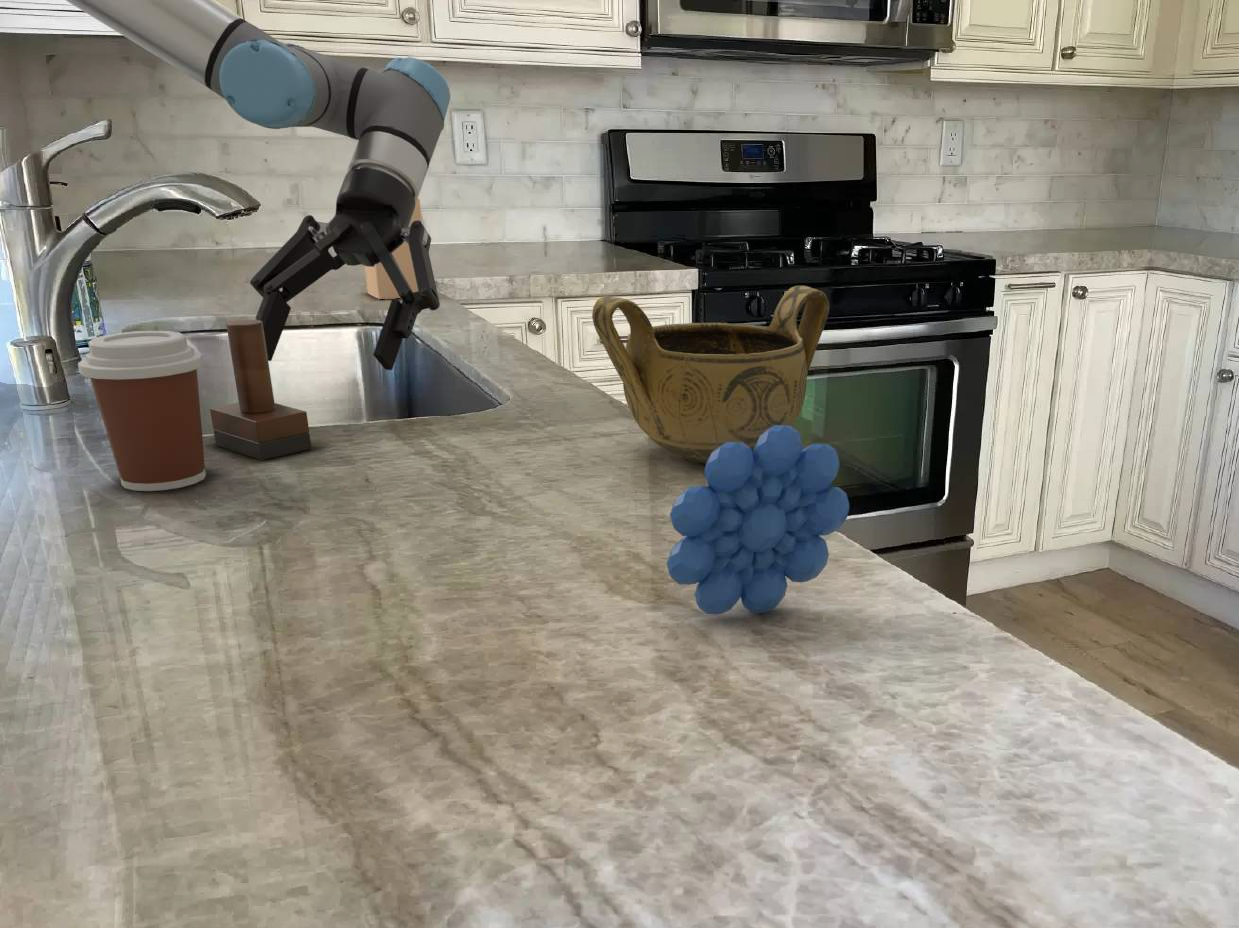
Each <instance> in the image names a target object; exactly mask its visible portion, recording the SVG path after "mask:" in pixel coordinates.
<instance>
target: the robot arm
mask: <svg viewBox="0 0 1239 928" xmlns="http://www.w3.org/2000/svg"><path fill="white" fill-rule="evenodd" d="M65 1H66V2H68V3H69V4H71V5H72V6H74V7H75V8H78V9H79V10H81V11H82V12H84V13H86V14H87V15H89V16H91V18H93V19H95V20H97V21H99V22H100V23H102V24H104V26H106V27H109V28H110V29H112V30H113V31H115V32H117V33H118V34H120V35H121V36H123V37H125V38H126V39H128V40H129V41H131V42H133V43H135V44H136V45H138V46H139V47H141V48H142V49H144V50H146V51H147V52H149V53H151V54H152V55H154V56H156V57H157V58H159V59H160V60H162V61H163V62H166V63H167V64H169V65H170V66H172V67H174V68H175V69H177V70H178V71H180V72H182V73H184V74H185V75H187V76H188V77H190V78H191V79H193V80H194V81H197V82H198V83H200V84H202V85H203V86H204V87H206V88H207V89H209V90H210V91H212V92H214V93H215V94H216V95H218V96H219V97H220V98H222V99H224V100H226V102H227V104H228V105H229V106H230V108H231V109H232V110H233V111H234V113H236V114H237V115H238V116H240V117H241V118H242V119H244V120H246V121H247V122H249V123H251V124H255V125H257V126H259V127H262V128H266V129H272V130H280V129H288V128H316V129H319V130H322V131H326V132H329V133H333V134H337V135H340V136H343V137H348V138H350V139H353V140H356V141H357V144H356V145H355V149H354V151H353V154H352V156H351V159H350V161H349V164H348V166H347V172H346V174H345V176H344V178H343V181H342V184H341V187H340V188H339V191H338V194H337V197H336V202H335V204H336V205H335V214H334V215H333V218H331V220H329V222H324V221H323V222H322V221H317V220H316V219H315V217H314V216H313V215H311V214H309V215H305V216H304V217H303V219H302V220H301V222H300V225H299V226H298V228H297V230H296V232H295V233H294V234H293V235H292V236H291V237H290V238H289V239H288V240H287V241H286V242H285V243H284V244H283V245H282V246H281V248H280V249H278V250H277V252H276V253H274V255H273V256H272V257H271V258H270V259H269V260H268V261H267V262H266V263H265V264H264V265H263V266H262V267H261V268H260V269H259V270H258V271H257V272H256V273H255V274H254V275H253V276H252V277H251V278H250V280H249V285H251V287H253V288H254V290H255V291H256V292H257V293H258V294H259V295H260V296H261V297H262V300H261V303H260V305H259V307H258V310H257V313H256V315H255V320H260V321H262V322H263V329H264V336H265V342H266V349H267V356H268V362H272V360H273V358H274V356H275V355H274V354H275V353H276V350H277V347H278V344H279V342H280V339H281V336H282V334H283V331H284V328H285V325H286V324H287V321H288V318H289V315H290V312H291V310H292V307H291V306H290V305H289V304H288V302H289V301H291V300H292V299H294V298H295V297H296V296H297V295H299V294H301V293H302V292H303V291H305V290H306V289H307V288H308V287H309V286H311V285H313V284H314V283H315V282H317V281H318V280H319V279H321V278H322V277H323V276H325V275H326V274H328V273H329V272H331V271H338V270H339V269H340V268H342V267H344V266H345V265H346V266H351V267H356V266H359V265H361V266H364V267H365V266H368V267H374V265H375V264H378V263H380V262H381V263H382V265H383V267H384V269H385V271H386V272H387V274H388V276H389V278H390V280H391V281H392V283H393V285H394V287H395V288H396V290H397V292H398V295H399V296H400V298H401V299H400V300H401V301H400V300H399V299H391V300H390V304H389V307H388V309H387V312H386V316H385V318H384V321H383V324H382V327H381V331H380V333H379V336H378V339H377V342H376V345H375V348H374V351H373V354H372V355H373V357H374V358H375V359H376V360H377V361H378V363H379V364H380V365H381V366H382V367H383V369H384V370H386V371H393V369H394V366H395V363H396V359H397V357H398V353H399V352H400V348H401V344H402V342H403V339H404V340H405V339H407V340H408V339H409V338H410V336H411V335H412V332H413V329H414V326H415V323H416V321H417V317H418V314H420V313H421V312H422V311H424V310H427V309H429V310H430V311H436V310H438V309H439V308H440V306H441V302H440V299H439V293H438V290H437V284H436V281H435V275H434V272H433V266H432V262H431V258H430V257H431V256H430V247H431V243H432V237H431V236H430V233H429V231H428V230H427V229H426V227H425V226H424V224H423V222H422V223H421V221H418V220H417V221H414V222H413V223H412V224H411V227H408V226H409V223H410V221H411V218H412V215H413V212H414V209H415V202H416V201H417V199H419V196H420V193H421V190H422V187H423V184H424V181H425V178H426V176H427V172H428V170H429V167H430V163H431V161H432V158H433V155H434V152H435V149H436V147H437V144H438V142H439V139H440V136H441V133H442V131H443V130H444V127H445V121H446V120H445V119H446V116H447V112H448V108H449V104H450V101H451V92H450V88H449V85H448V82H447V81H446V79H445V78H444V76H443V75H442V74H441V73H440V72H439V71H438V70H437V69H436V68H435V67H434V66H432V65H431V64H430V63H427V62H426V61H423V60H421V59H419V58H417V57H411V56H408V57H405V58H402V57H397V58H393V59H392V60H391V61H389V62H388V63H387V65H386V67H384V68H383V70H382V72H381V71H378V70H376V69H371V68H367V67H362V66H358V65H355V64H353V63H349V62H347V61H344V60H341V59H338V58H335V57H332V56H329V55H326V54H323V53H321V52H317V51H313V50H311V49H308V48H305V47H304V46H302V45H299V44H294V43H289V42H288V43H287V42H283V41H279V40H278V39H276V38H275V37H273V36H272V35H270V34H268V33H267V32H266V31H264V30H262V29H261V28H259V27H257V25H254V24H252V23H250V22H248V21H247V20H245V18H243V17H242V16H240V15H239V14H237V13H236V12H234V11H233V10H230V9H229V8H228V7H226V6H224V5H222V4H221V3H219V2H218V1H216V0H65ZM404 241H406V243H407V244H408V246H409V249H410V253H411V258H412V263H413V268H414V272H415V277H416V282H417V286H418V292H414V293H413V291H412V289H411V287H410V286H409V284H408V282H407V280H406V278H405V277H404V275H403V273H402V271H401V270H400V267H399V265H398V264H397V262H396V260H395V258H394V257H393V255H392V252H393V251H395V250H396V249H397V248H398V247H399V246H401V245H402V244H403V243H404ZM331 248H332V250H333V251H334V253H335V256H333V255H332V254H331V253H330V252H329V250H330V249H331ZM281 289H282V290H281Z"/></svg>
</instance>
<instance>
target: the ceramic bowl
mask: <svg viewBox="0 0 1239 928" xmlns="http://www.w3.org/2000/svg"><path fill="white" fill-rule="evenodd" d="M804 305H805V306H804ZM803 307H804V309H803V312H802V315H801V319H800V323H799V324H798V321H797V319H798V316H799V313H800V311H801V310H802V308H803ZM617 309H619V310H620V311H621V313H622V314H623V315H624V317H625V319H626V321H627V323H628V325H629V328H630V329H629V330H630V333H628V334H627V337H626V344H624V343H623V341H622V339H621V336H620V335H619V333H618V331H617V328H616V326H615V324H614V321H613V316H614V313H615V312H616V310H617ZM829 313H830V301H829V299H828V297H827V296H826V293H824V292H823V291H822V290H819V289H816V288H813V287H811V286H806V285H795V286H794V285H793V286H792V287H790V288H789V289H788V290H787V291H786V292H785V293H784V294H783V295H782V297H781V298H780V300H779V302H778V304H777V306H776V307H775V310H774V312H773V315H772V319H771V322H770V324H769V325H768V326H764V325H755V324H746V323H728V322H688V323H687V322H686V323H671V324H669V323H668V324H660V325H654V326H653V325H652V323H651V321H650V319H649V317H648V315H647V314H646V313H645V311H644V310H642V308H641V307H640V306H639V304H637V303H636V302H634V301H633V300H630V299H626V298H623V297H616V296H609V295H605V296H602V297H599V298H598V299H597V300H596V301H595V303H594V306H593V307H592V313H591V317H592V318H591V319H592V322H593V326H594V329H595V332H596V334H597V335H598V338H599V339H600V341H601V344H602V345H603V347H604V349H605V351H606V353H607V355H608V357H609V359H610V361H611V363H612V366H613V367H614V369H615V372H616V373H617V374H618V376H619V378H620V380H621V382H622V386H623V387H622V388H623V394H624V397H625V401H626V404H627V407H628V410H629V411H630V414H631V416H632V417H633V420H634V421H635V422H636V424H637V425H638V427H639V428H640V429H641V430H642V431H643V433H644V434H645V435H647V436H648V438H649V439H650V440H651V441H653V442H654V443H655V444H657V445H658V446H659V447H661V448H662V449H664V450H666V451H667V452H669V453H671V454H672V455H675V456H678V457H680V458H682V459H685V460H687V461H691V462H694V463H700V464H705V465H706V464H707V460H708V459H709V457H710V455H711V453H712V452H713V451H714V450H715V449H716V448H717V447H719V446H721V445H722V444H724V443H726V442H743V443H745V444H746V445H747V446H748V447H750V448H751V450H752V454H753V451H754V447H755V444H756V442H757V440H758V439H759V437H760V436H761V435H762V434H763V433H764V432H765V431H766V430H768V429H769V428H771V427H773V426H775V425H786V426H792V427H794V425H795V423H796V421H797V419H798V417H799V415H800V413H801V410H802V407H803V405H804V403H805V399H806V393H807V383H808V373H809V370H810V368H811V365H812V362H813V359H814V356H815V353H816V350H817V348H818V345H819V342H820V339H821V337H822V334H823V331H824V328H825V326H826V323H827V320H828V316H829Z"/></svg>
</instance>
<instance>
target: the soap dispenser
mask: <svg viewBox="0 0 1239 928" xmlns="http://www.w3.org/2000/svg"><path fill="white" fill-rule="evenodd" d="M422 219H423V218H422V209H421V200H420V198H418V199H417V201H416V202H415V209H414V212H413V215H412V218H411V221H410V223H409V226H408V227H411V224H412V223H413V222H414V221H417V220H418V221H421V223H422V224H423V220H422ZM392 255H393V257H394V258H395V260H396V262H397V264H398V265H399V267H400V270H401V271H402V273H403V275H404V277H405V278H406V280H407V282H408V284H409V286H410V287H411V289H412V291H413V293H414V292H418V286H417V282H416V277H415V272H414V268H413V263H412V258H411V253H410V249H409V246H408V244H407V243H406V241H404V243H403V244H402V245H401V246H399V247H398V248H397V249H396V250H395V251H393V252H392ZM364 271H365V280H366V288H367V294H368V295H370V296H372V297H374V298H375V299H377V298H378V299H377V300H379V299H385V300H397V299H396V298H400V296H399V295H398V292H397V290H396V288H395V287H394V285H393V283H392V281H391V280H390V278H389V276H388V274H387V272H386V271H385V269H384V267H383V265H382V263H381V262H380V263H378V264H375V265H374V267H368V266H364Z"/></svg>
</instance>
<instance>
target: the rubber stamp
mask: <svg viewBox="0 0 1239 928" xmlns="http://www.w3.org/2000/svg"><path fill="white" fill-rule="evenodd" d="M225 326H226V331H227V337H228V344H229V349H230V356H231V362H232V369H233V375H234V381H235V387H236V393H237V399H238V402H235V403H229V404H224V405H218V406H214V407H210V408H209V413H210V417H211V418H210V419H211V423H212V424H211V425H212V429H213V436H214V441H215V446H216V447H220V448H223V449H226V450H229V451H232V452H234V453H239V454H242V455H243V456H248V457H251V458H254V459H257V460H260V461H265V460H269V459H274V458H278V457H282V456H288V455H292V454H295V453H301V452H304V451H309V450H312V443H311V442H312V441H311V433H310V426H309V420H308V413H307V411H305V410H302V409H298V408H295V407H292V406H287V405H283V404H280V403H276V402H275V397H274V389H273V384H272V377H271V370H270V364H269V363H270V362H269V361H268V356H267V349H266V342H265V336H264V329H263V322H262V321H260V320H256V319H238V320H232V321H228V322H226V325H225Z"/></svg>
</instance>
